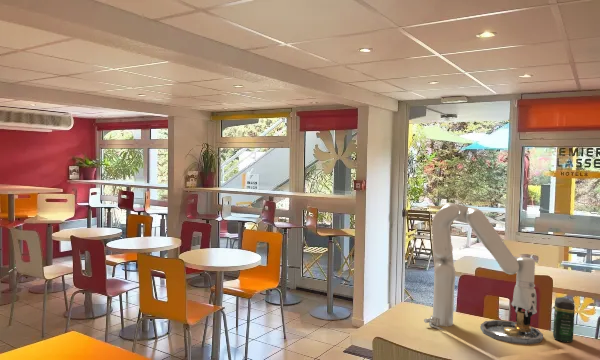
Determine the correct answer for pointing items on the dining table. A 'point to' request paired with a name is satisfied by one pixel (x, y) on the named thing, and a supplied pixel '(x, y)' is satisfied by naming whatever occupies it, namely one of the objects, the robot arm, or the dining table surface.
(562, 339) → the coffee jar
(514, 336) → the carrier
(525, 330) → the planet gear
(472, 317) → the dining table surface
